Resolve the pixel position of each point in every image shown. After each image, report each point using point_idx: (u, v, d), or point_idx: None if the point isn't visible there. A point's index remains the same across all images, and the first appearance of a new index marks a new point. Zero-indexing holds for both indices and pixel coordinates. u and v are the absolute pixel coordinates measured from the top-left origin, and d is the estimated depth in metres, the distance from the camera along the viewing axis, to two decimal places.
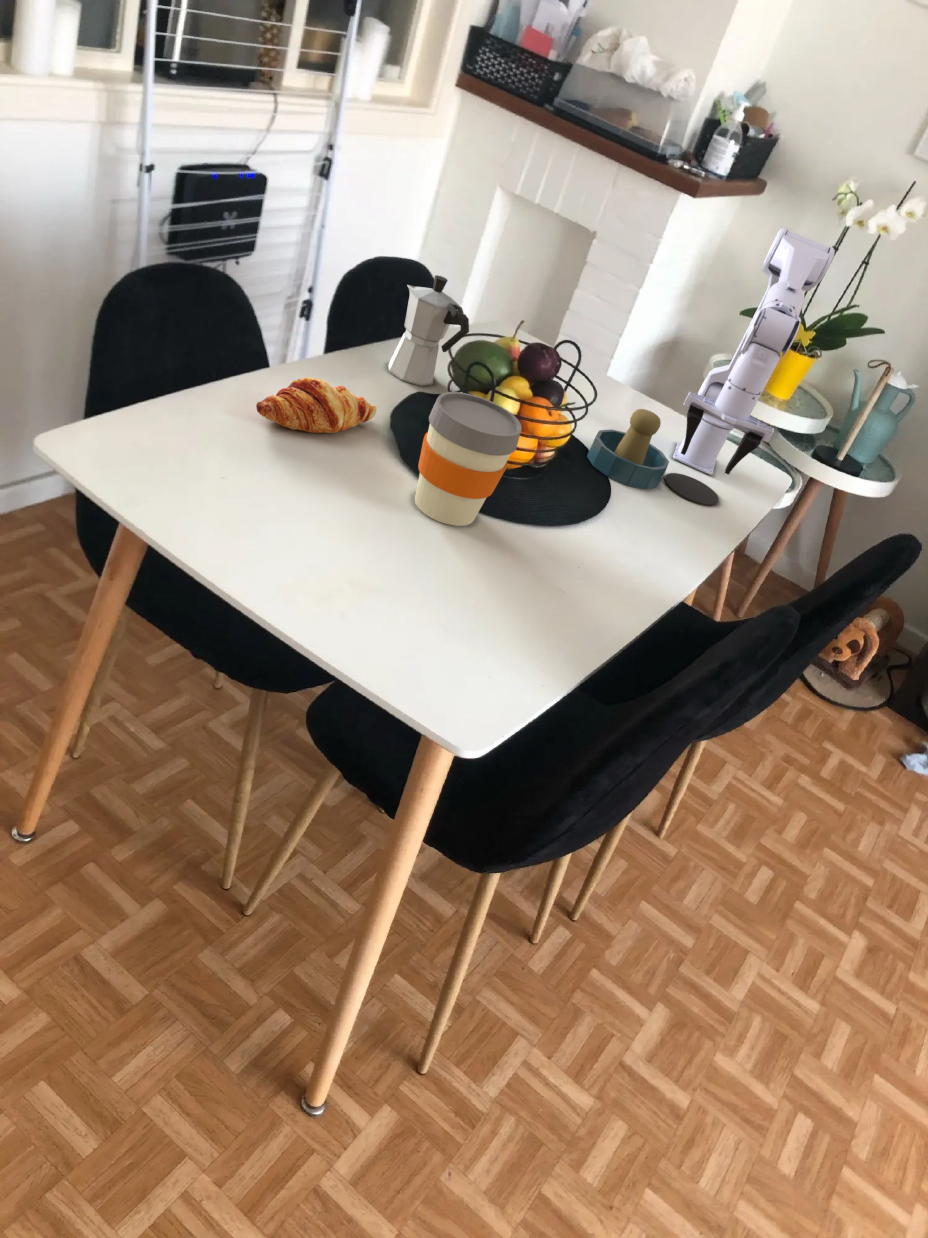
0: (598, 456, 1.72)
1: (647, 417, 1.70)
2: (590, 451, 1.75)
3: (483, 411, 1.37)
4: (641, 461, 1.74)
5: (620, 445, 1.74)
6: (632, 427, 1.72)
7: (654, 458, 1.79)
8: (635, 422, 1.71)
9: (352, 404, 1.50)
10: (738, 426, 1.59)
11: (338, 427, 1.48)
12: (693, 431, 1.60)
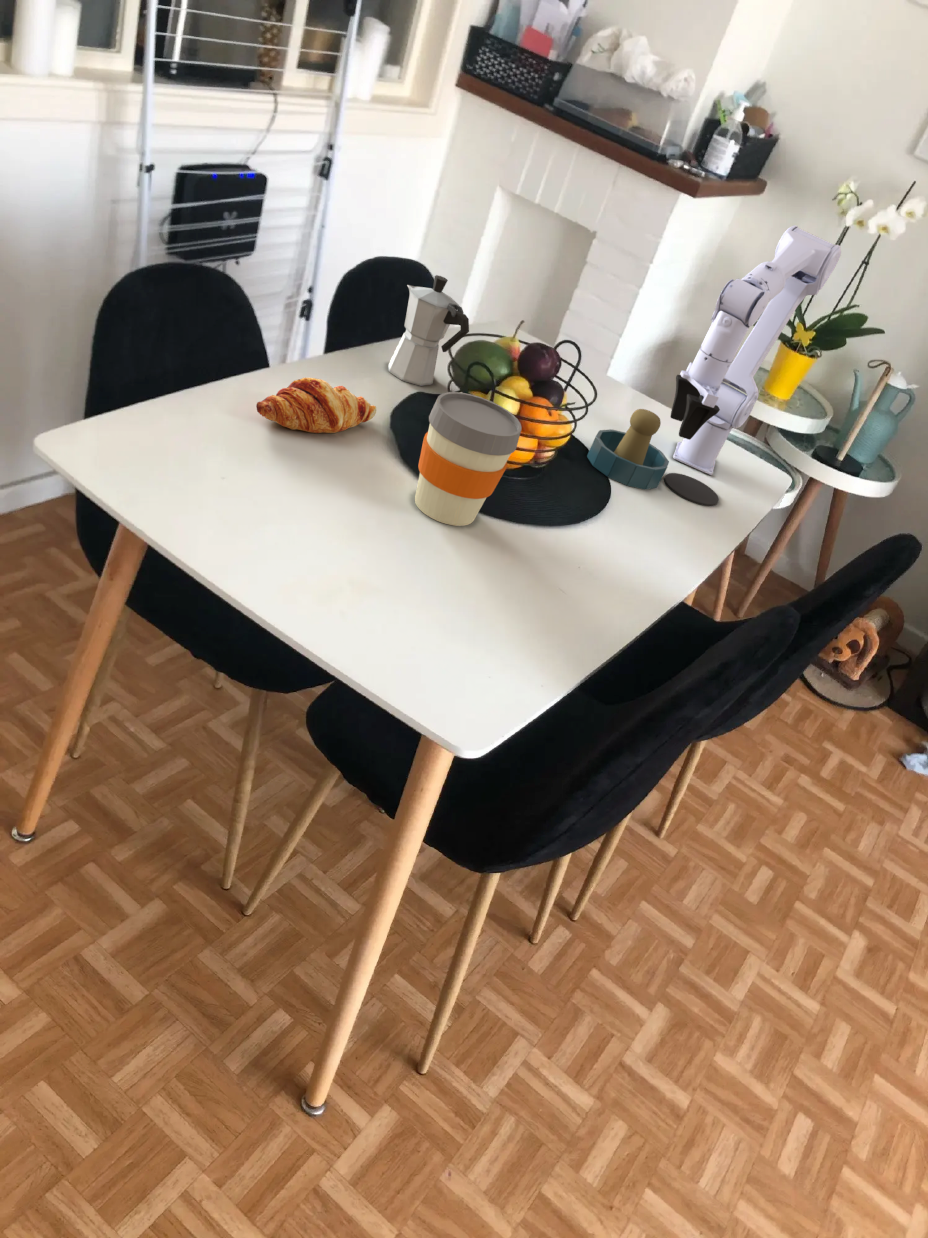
0: (598, 456, 1.72)
1: (647, 417, 1.70)
2: (590, 451, 1.75)
3: (483, 411, 1.37)
4: (641, 461, 1.74)
5: (620, 445, 1.74)
6: (632, 427, 1.72)
7: (654, 458, 1.79)
8: (635, 422, 1.71)
9: (352, 404, 1.50)
10: (700, 391, 1.66)
11: (338, 427, 1.48)
12: (676, 392, 1.73)
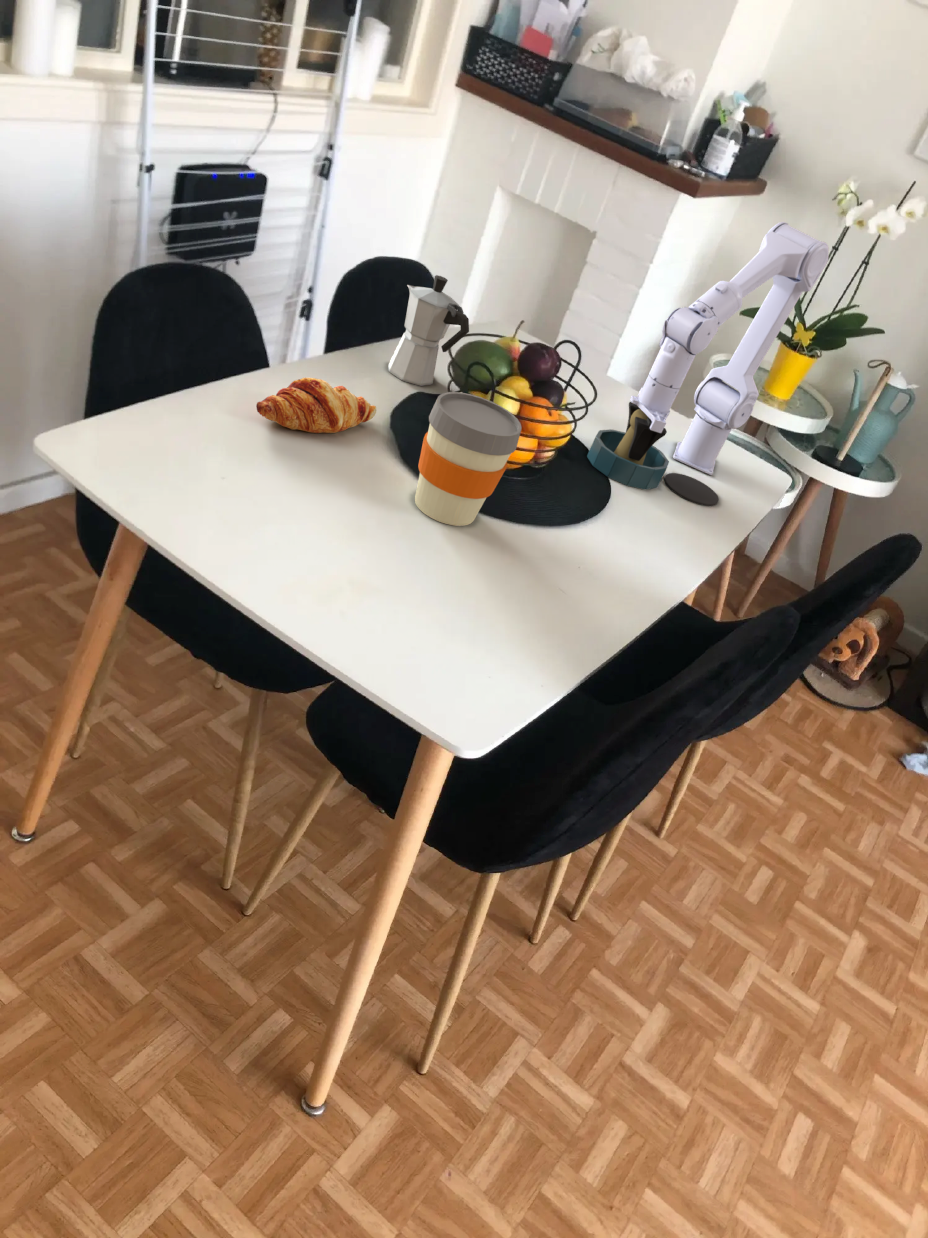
0: (598, 456, 1.72)
1: (647, 417, 1.70)
2: (590, 451, 1.75)
3: (483, 411, 1.37)
4: (641, 461, 1.74)
5: (620, 445, 1.74)
6: (632, 427, 1.72)
7: (654, 458, 1.79)
8: None
9: (352, 404, 1.50)
10: None
11: (338, 427, 1.48)
12: (629, 419, 1.75)
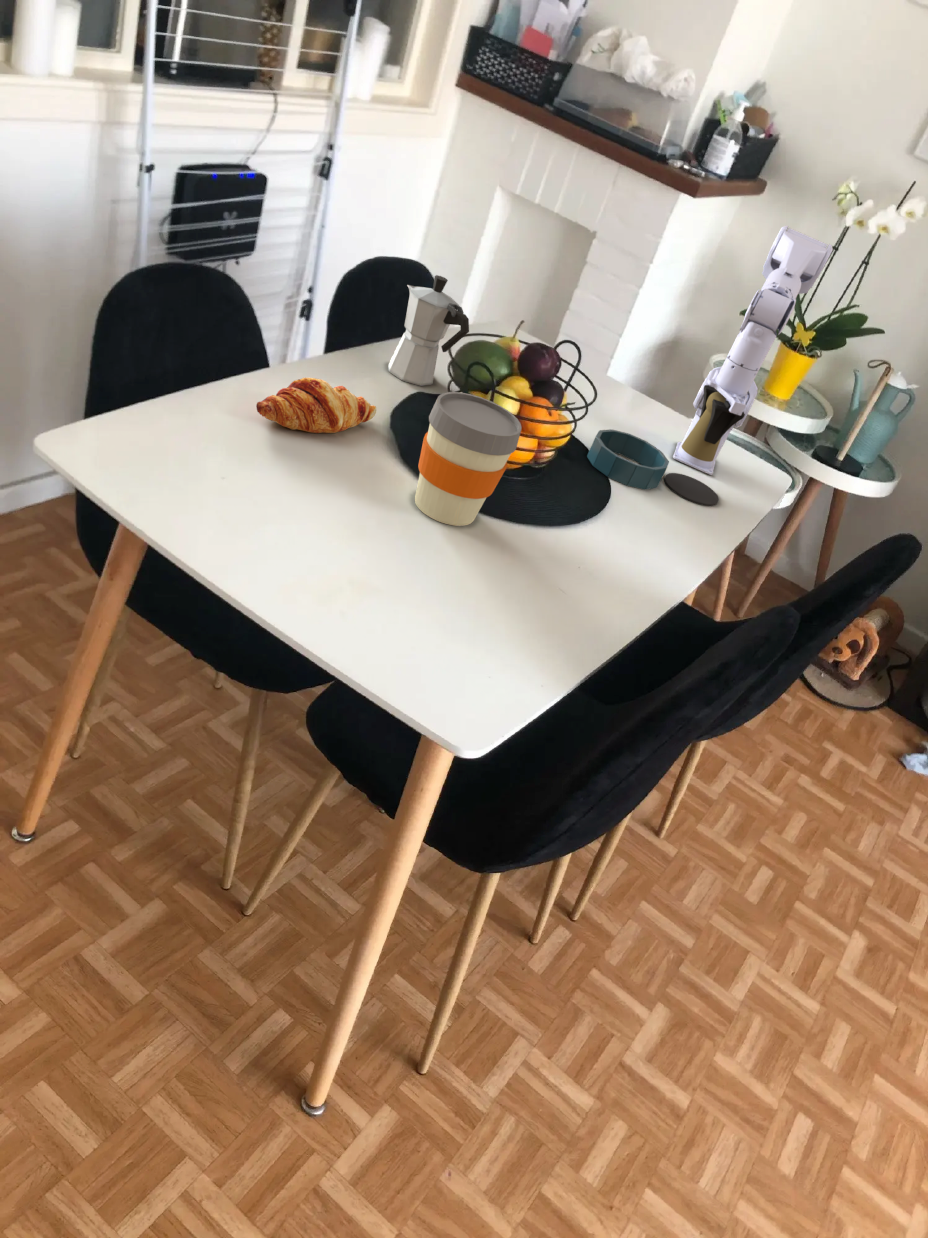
0: (598, 456, 1.72)
1: (725, 399, 1.68)
2: (590, 451, 1.75)
3: (483, 411, 1.37)
4: (716, 445, 1.73)
5: (695, 428, 1.73)
6: (708, 410, 1.70)
7: (654, 458, 1.79)
8: None
9: (352, 404, 1.50)
10: (727, 399, 1.68)
11: (338, 427, 1.48)
12: (704, 402, 1.73)
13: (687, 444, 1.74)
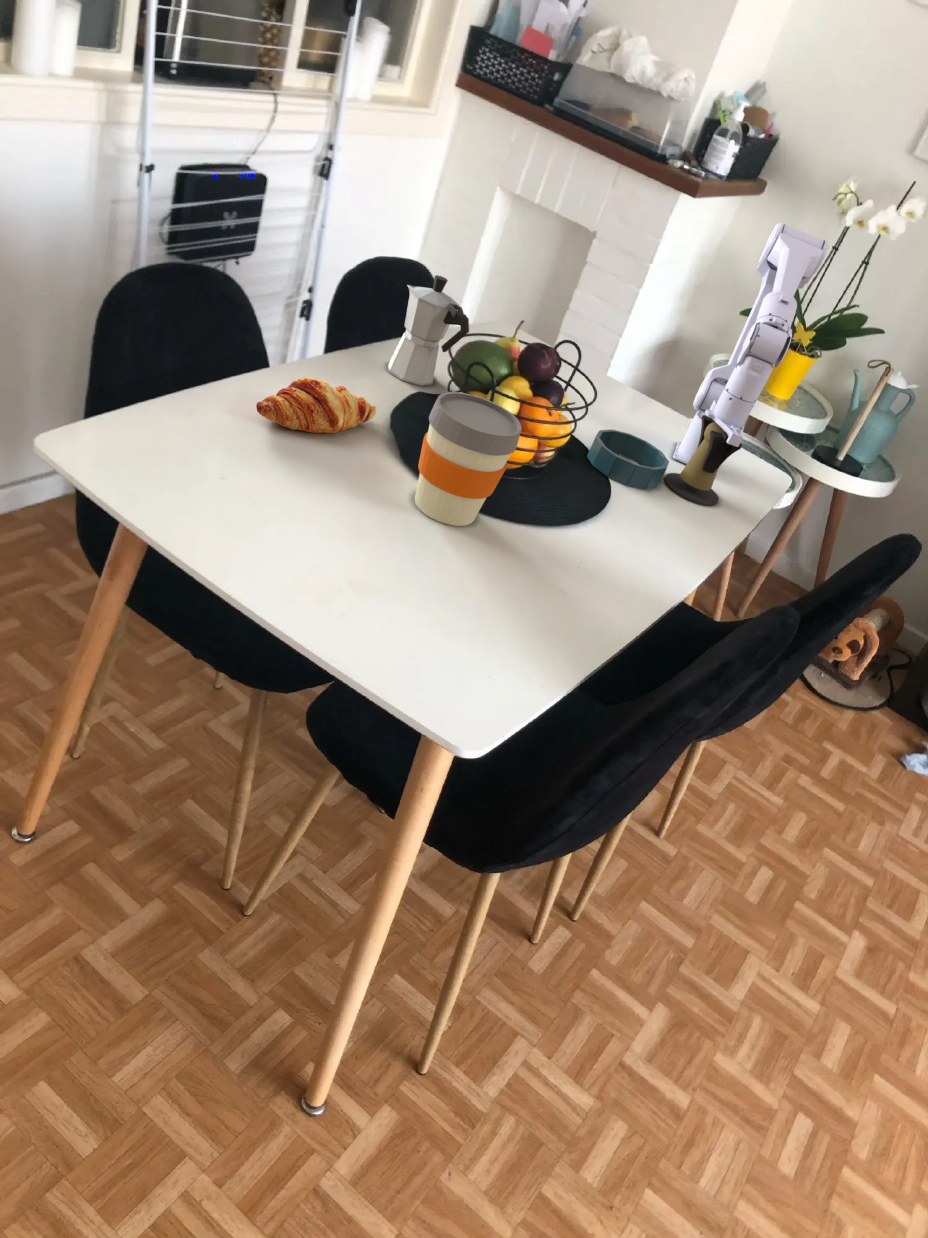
0: (598, 456, 1.72)
1: (722, 430, 1.71)
2: (590, 451, 1.75)
3: (483, 411, 1.37)
4: (714, 474, 1.76)
5: (693, 458, 1.76)
6: (706, 440, 1.73)
7: (654, 458, 1.79)
8: None
9: (352, 404, 1.50)
10: (724, 430, 1.71)
11: (338, 427, 1.48)
12: (702, 432, 1.76)
13: (686, 473, 1.77)
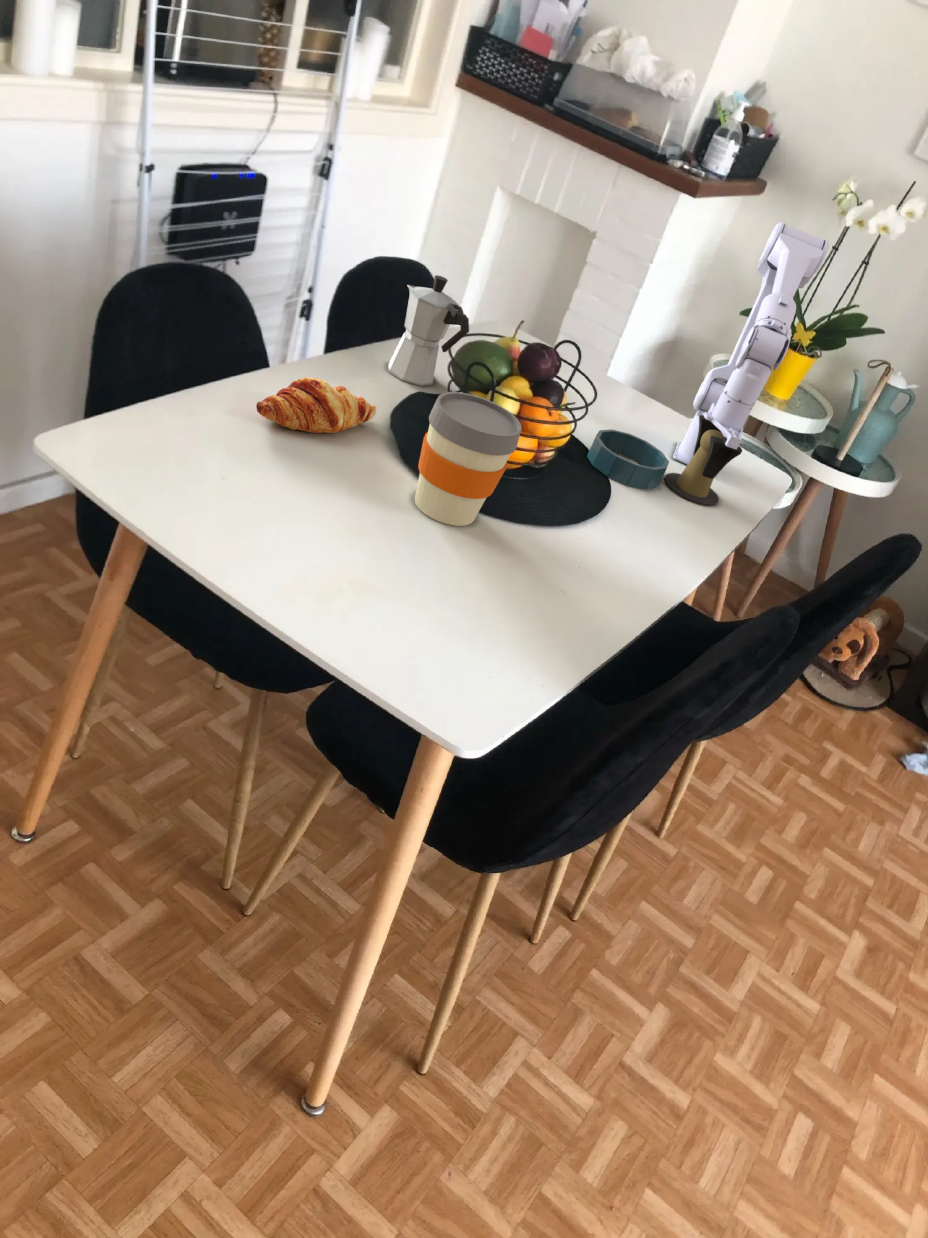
0: (598, 456, 1.72)
1: None
2: (590, 451, 1.75)
3: (483, 411, 1.37)
4: (710, 481, 1.77)
5: (690, 465, 1.76)
6: (703, 448, 1.74)
7: (654, 458, 1.79)
8: (706, 443, 1.73)
9: (352, 404, 1.50)
10: (723, 433, 1.71)
11: (338, 427, 1.48)
12: (699, 432, 1.78)
13: (682, 480, 1.77)
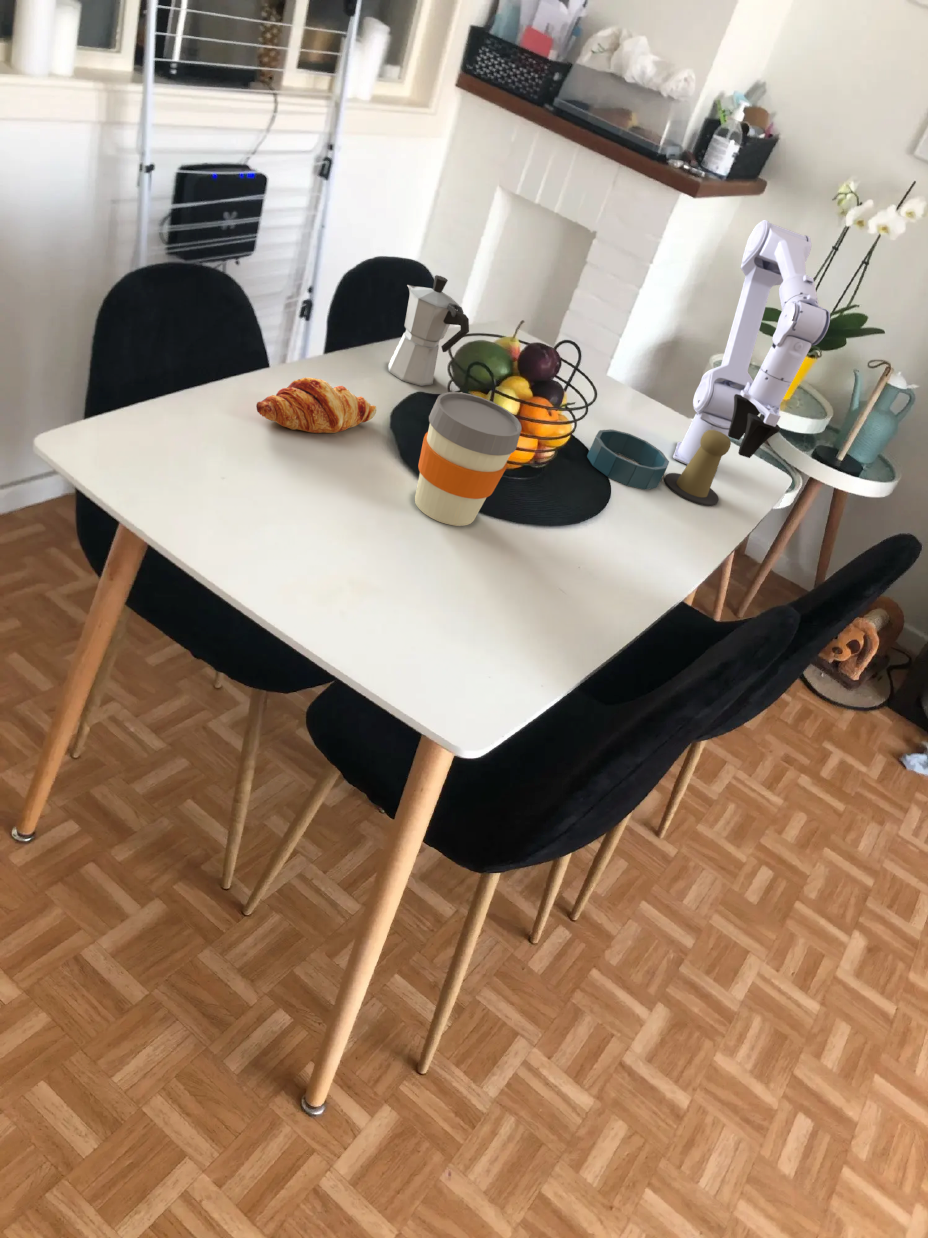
0: (598, 456, 1.72)
1: (719, 438, 1.72)
2: (590, 451, 1.75)
3: (483, 411, 1.37)
4: (710, 481, 1.77)
5: (690, 465, 1.76)
6: (703, 448, 1.74)
7: (654, 458, 1.79)
8: (706, 443, 1.73)
9: (352, 404, 1.50)
10: (760, 411, 1.69)
11: (338, 427, 1.48)
12: (735, 411, 1.75)
13: (682, 480, 1.77)
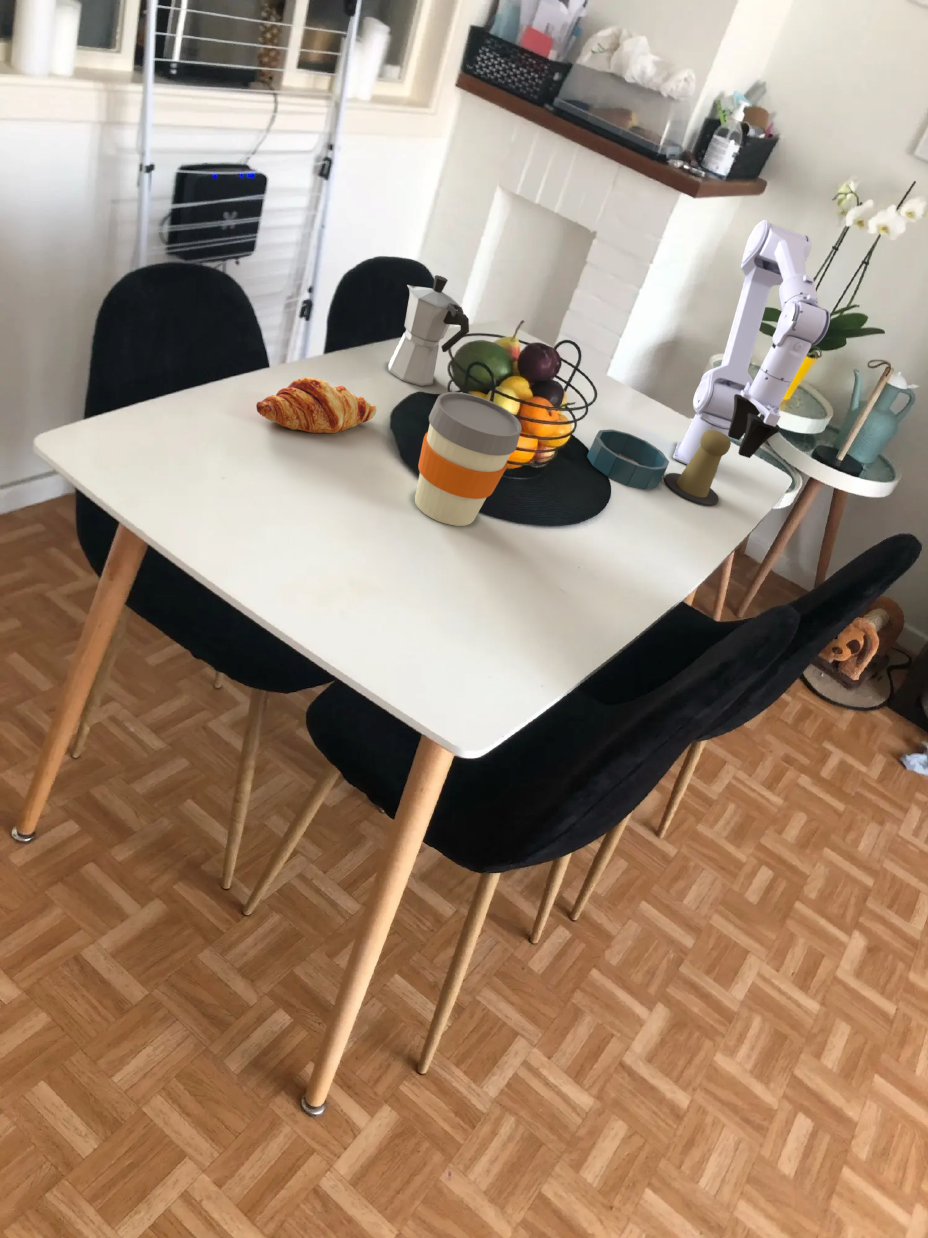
0: (598, 456, 1.72)
1: (719, 438, 1.72)
2: (590, 451, 1.75)
3: (483, 411, 1.37)
4: (710, 481, 1.77)
5: (690, 465, 1.76)
6: (703, 448, 1.74)
7: (654, 458, 1.79)
8: (706, 443, 1.73)
9: (352, 404, 1.50)
10: (760, 411, 1.69)
11: (338, 427, 1.48)
12: (735, 411, 1.75)
13: (682, 480, 1.77)
